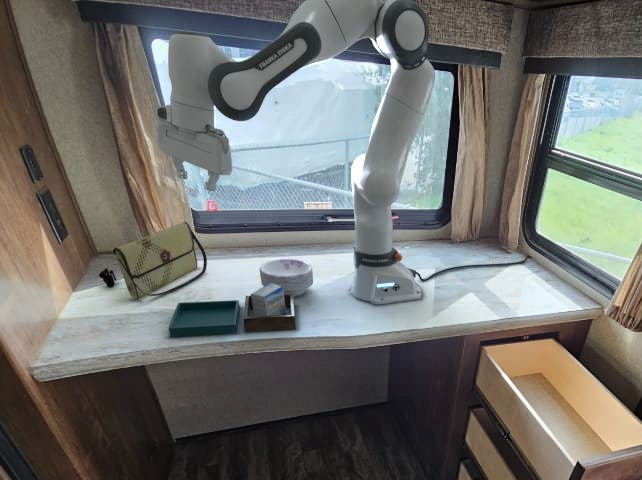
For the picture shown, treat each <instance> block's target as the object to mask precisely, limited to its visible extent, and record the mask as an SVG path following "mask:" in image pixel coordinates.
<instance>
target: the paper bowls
mask: <svg viewBox="0 0 642 480" xmlns="http://www.w3.org/2000/svg"><path fill="white" fill-rule="evenodd" d="M259 277H260V283H261V285H262V286H263V287H265V286H266V285H268V284H275V285H279V286H282V287H283V292H284V294H293V298H294V297H298V296H299V297H300V296H301V295H303V294H304V293H305V292H306V291H307V289H308V288H310V287H311V286H312V285H313V284H314V274H313V266H312V265H311V264H310V263H309V262H307V261H305V260H302V259H301V260H300V259H295V258H277V259H271V260H268V261H265V262H263V263H262V264H261V265H260V266H259Z"/></svg>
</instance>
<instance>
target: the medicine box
mask: <svg viewBox="0 0 642 480" xmlns="http://www.w3.org/2000/svg"><path fill="white" fill-rule="evenodd" d="M250 296H251V299H252V304H253V309H254V310H253V313H254V317H261V316H281V315H287V308H286V307H285V300H284V292H283V287H282V286H279V285H275V284H268V285H266V286H265V287H264V286H263V287H261V288H259V289H257V290H255V291H254V292H252V293H250Z"/></svg>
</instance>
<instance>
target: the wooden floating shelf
mask: <svg viewBox="0 0 642 480" xmlns="http://www.w3.org/2000/svg"><path fill="white" fill-rule="evenodd" d="M244 299H245V300H244V301H245V302H244V308H243V317H242V320H243V325H244V331H245V333H256V332H257V333H258V332H273V331H274V332H275V331H276V332H277V331H291V330H297V324H296V322H297V321H296V311H295V300H294V297H293V294H284V300H285V307H286V309H290V314H286V315H281V316H261V317H255V316H251V315H252V310H253V311H254V309H253V304H252V299H251V295H245V298H244Z"/></svg>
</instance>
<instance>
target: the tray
mask: <svg viewBox="0 0 642 480" xmlns="http://www.w3.org/2000/svg"><path fill="white" fill-rule="evenodd" d="M240 315H241V304H240V301H239V299H234V300H233V299H231V300H213V301H209V300H208V301H187V302H186V301H184V302H177V304H176V307H175V309H174V312H173V315H172V318H171V321H170V323H169V326H168V332H169V335H170V337H171V338H183V337H201V336H202V337H203V336H219V335H233V334H235V335H236V334H238V330H239V329H238V328H239V321H240Z"/></svg>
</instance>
